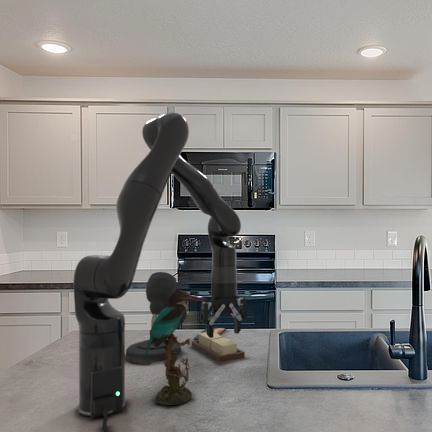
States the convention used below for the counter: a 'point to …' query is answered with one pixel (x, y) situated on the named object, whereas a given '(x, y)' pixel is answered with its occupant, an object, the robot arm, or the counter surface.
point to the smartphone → (216, 330)
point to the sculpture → (160, 333)
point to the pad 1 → (207, 339)
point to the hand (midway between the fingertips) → (224, 335)
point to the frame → (215, 356)
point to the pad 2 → (223, 346)
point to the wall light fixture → (158, 297)
